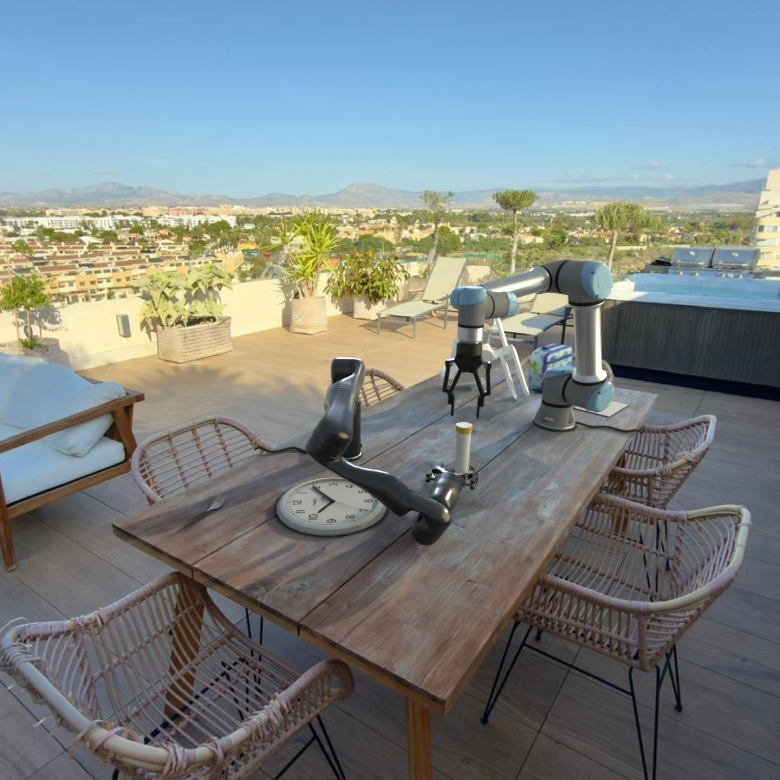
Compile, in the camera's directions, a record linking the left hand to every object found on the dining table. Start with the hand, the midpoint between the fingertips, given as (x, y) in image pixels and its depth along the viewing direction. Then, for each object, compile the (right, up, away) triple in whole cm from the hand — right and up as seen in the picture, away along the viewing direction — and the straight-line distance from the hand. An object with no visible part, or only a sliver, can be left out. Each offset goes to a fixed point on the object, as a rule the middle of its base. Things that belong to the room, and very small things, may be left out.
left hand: (456, 466), depth 153 cm
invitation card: (+72, +15, +74) cm, 104 cm away
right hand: (+3, +15, +5) cm, 16 cm away
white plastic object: (+22, +21, +91) cm, 96 cm away
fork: (-68, -11, -16) cm, 71 cm away
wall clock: (-35, -9, -10) cm, 38 cm away
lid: (+3, +11, +6) cm, 13 cm away
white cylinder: (+3, -4, +11) cm, 12 cm away
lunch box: (+57, +23, +99) cm, 117 cm away
